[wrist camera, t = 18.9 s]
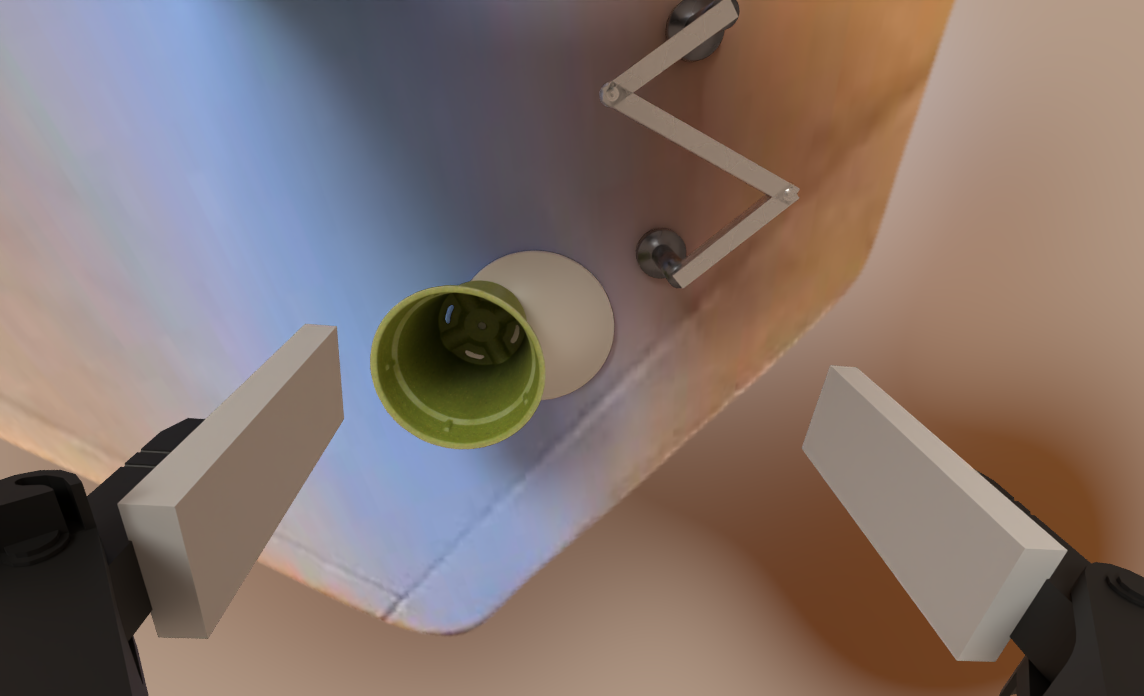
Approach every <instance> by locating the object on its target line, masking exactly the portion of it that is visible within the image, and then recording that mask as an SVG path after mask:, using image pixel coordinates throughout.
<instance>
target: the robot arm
mask: <svg viewBox="0 0 1144 696" xmlns="http://www.w3.org/2000/svg"><path fill="white" fill-rule="evenodd" d="M343 420H344V412H343V400H342V387H341V374H340V362H339V349H338V336H337V326H326V325H314V324H305V325H304V326H303V327H301V328H300V329H299V330H298V331H297V332H296V333H295V334H294V335H293V336H292V337H291V338H290V339H289V340H288V341H287V342H286V343H285V344H284V345H283V346H282V347H281V348H280V349H278V350H277V351H276V352H275V353H274V354H273V355H272V356H271V357H270V358H269V359H268V360H267V361H266V362H265V363H264V364H263V365H262V366H261V367H260V368H259V369H258V370H257V371H255V372H254V373H253V374H252V375H251V376H250V377H249V378H248V379H247V380H246V381H245V382H244V383H243V384H242V385H241V386H240V387H239V388H238V389H237V390H236V391H235V392H234V393H232V394H231V395H230V396H229V397H228V398H227V399H226V400H225V401H224V402H223V403H222V404H221V405H220V406H219V407H218V408H217V409H216V410H215V411H214V412H213V413H212V414H211V415H209V416H208V417H207V418H206V419H194V418H187V419H185V420H183V421H181V422H179V423H177V424H175V425H173V426H171V427H169V428H167V429H165V430H163V431H161V432H160V433H159V434H158V435H156V436H155V437H154V438H153V439H152V440H151V441H150V442H149V443H147V444H146V445H145V446H144V447H143V448H142V449H141V452H140V453H139V452H137V453H136V454H135V455H134V456H133V457H131V458H130V459H129V460H128V461H127V462H126V463H125V466H124V467H120V468H119V469H118V470H117V471H115V472H114V473H113V474H112V475H111V476H110V477H109V478H107V479H106V480H105V481H104V482H103V483H102V484H101V485H99V486H98V487H97V488H96V489H95V490H94V491H93V492H92V493H90V494H89V495H88V496H86V493H85V490H84V487H83V484H82V482H81V480H80V479H79V478H78V477H77V475H76V474H73V473H69V472H66V471H62V470H39V471H34V472H28V473H23V474H18V475H14V476H11V477H8V478H5V479H2V480H0V696H148V691H147V687H146V683H145V678H144V674H143V670H142V666H141V661H140V657H139V653H138V649H137V645H136V643H135V639H134V636H133V635H134V633H135V632H136V631H137V629H138V628H139V627H140V625H141V624H142V623H143V621H144V620H145V619H146V617H147V616H148V615H149V614H150V612H151V615H152V618H153V622H154V625H155V628H156V632H157V635H158V637H164V638H167V637H168V638H199V639H208V638H209V636H210V635H211V633H212V632H213V630H214V628H215V627H216V625H217V624H218V622H219V620H220V619H221V617H222V615H223V614H224V612H225V611H226V609H227V607H228V606H229V604H230V603H231V601H232V599H233V598H234V596H235V594H236V593H237V591H238V589H239V588H240V586H241V585H242V583H243V581H244V580H245V578H246V577H247V575H248V573H249V572H250V570H251V569H252V567H253V565H254V564H255V562H256V560H257V559H258V557H259V556H260V554H261V552H262V551H263V549H264V548H265V546H266V544H267V543H268V541H269V539H270V538H271V536H272V535H273V533H274V531H275V530H276V528H277V526H278V525H279V523H280V522H281V520H282V518H283V517H284V515H285V514H286V512H287V510H288V509H289V507H290V505H291V504H292V502H293V501H294V499H295V497H296V496H297V494H298V493H299V491H300V489H301V488H302V486H303V484H304V483H305V481H306V480H307V478H308V476H309V475H310V473H311V471H312V470H313V468H314V467H315V465H316V463H317V462H318V460H319V459H320V457H321V455H322V454H323V452H324V450H325V449H326V447H327V446H328V444H329V442H330V441H331V439H332V437H333V436H334V434H335V433H336V431H337V429H338V428H339V426H340V425H341V423H342V421H343ZM802 449H803V451H804V452H805V454H806V455H807V456H808V458H809V459H810V460H811V462H812V463H813V464H814V466H815V467H816V468H817V470H818V471H819V473H820V474H821V475H822V477H823V478H824V479H825V481H826V482H827V484H828V485H829V486H830V488H831V489H832V490H833V492H834V493H835V494H836V496H837V497H838V499H839V500H840V501H841V503H842V504H843V505H844V507H845V508H846V510H847V511H848V512H849V514H850V515H851V516H852V518H853V519H854V520H855V522H856V523H857V525H858V526H859V527H860V529H861V530H862V531H863V533H864V534H865V536H866V537H867V538H868V540H869V541H870V542H871V544H872V545H873V546H874V548H875V549H876V551H877V552H878V553H879V555H880V556H881V557H882V559H883V560H884V562H885V563H886V564H887V566H888V567H889V568H890V570H891V571H892V572H893V574H894V575H895V577H896V578H897V579H898V581H899V582H900V583H901V585H902V586H903V587H904V589H905V590H906V591H907V593H908V594H909V596H910V597H911V598H912V600H913V601H914V603H915V604H916V605H917V606H918V608H919V609H920V611H921V612H922V613H923V615H924V616H925V617H926V619H927V620H928V622H929V623H930V624H931V626H932V627H933V628H934V630H935V631H936V632H937V634H938V635H939V637H940V638H941V639H942V641H943V642H944V644H945V645H946V646H947V648H948V649H949V650H950V652H951V653H952V654H953V656H954V657H955V659H956V660H957V661H958V660H959V661H992V662H995V661H996V660H997V658H998V657H999V655H1000V654H1001V652H1002V651H1003V649H1004V647H1005V646H1006V644H1007V643H1008V641H1009V640H1010V638H1011V639H1012V640H1013V641H1014V642H1015V643H1016V645H1017V646H1018V647H1019V648H1020V649H1021V650H1022V651H1023V653H1024V654H1025V657H1024V658H1023V660H1022V661H1021V662H1020V664H1019V665H1018V667H1017V668H1016V670H1015V671H1014V673H1013V674H1012V676H1011V677H1010V679H1009V680H1008V681H1007V683H1006V684H1005V686H1004V687H1003V689H1002V690H1001V693H1000V695H999V696H1010V695H1012V694H1017V696H1144V577H1142V576H1140V575H1138V574H1135V573H1134V572H1132V571H1130V570H1127V569H1124V568H1121V567H1118V566H1115V565H1112V564H1106V563H1098V562H1095V563H1092V564H1091V563H1090V562H1089V561H1087V560H1086V559H1085V558H1084V557H1083V556H1082V555H1080V554H1079V553H1078V552H1077V551H1076V550H1075V549H1073V548H1072V547H1071V546H1070V545H1069V544H1068V543H1066V542H1065V541H1064V540H1063V539H1061V537H1059V536H1058V535H1057V534H1056V533H1055V532H1054V531H1052V530H1051V529H1050V528H1049V527H1048V526H1047V525H1045V524H1044V523H1043V522H1042V521H1040V520H1039V519H1038V518H1037V517H1036V516H1034V515H1031V514H1030V511H1029V510H1028V509H1026V508H1025V507H1024V506H1023V505H1022V504H1021V503H1020V502H1018V501H1014V497H1012V496H1011V495H1010V494H1009V493H1008V492H1007V491H1006V490H1004V489H1003V488H1002V487H1001V486H1000V485H998V484H997V483H996V482H995V481H994V480H992V479H990V478H989V477H987V476H985V475H984V474H982V473H980V472H978V471H977V470H975V469H973V468H972V467H971V466H970V465H969V464H967V463H966V462H965V461H964V460H963V459H962V458H961V457H959V456H958V455H957V454H956V453H955V452H954V451H952V450H951V449H950V448H949V447H948V446H947V445H946V444H944V443H943V442H942V441H941V440H940V439H939V438H937V437H936V436H935V435H934V434H933V433H932V432H930V431H929V430H928V429H927V428H926V427H925V426H924V425H922V424H921V423H920V422H919V421H918V420H917V419H915V418H914V417H913V416H912V415H911V414H910V413H909V412H907V411H906V410H905V409H904V408H903V407H902V406H900V405H899V404H898V403H897V402H896V401H895V400H893V399H892V398H891V397H890V396H889V395H888V394H887V393H886V392H884V391H883V390H882V389H881V388H880V387H879V386H878V385H876V384H875V383H874V382H873V381H872V380H871V379H869V378H868V377H867V376H866V375H865V374H864V373H863V372H861V371H860V370H859V369H858V368H857V367H846V366H833V365H830V367H829V370H828V373H827V376H826V379H825V382H824V385H823V388H822V391H821V394H820V396H819V399H818V402H817V405H816V408H815V411H814V414H813V417H812V420H811V423H810V426H809V429H808V432H807V434H806V437H805V440H804V443H803V446H802Z"/></svg>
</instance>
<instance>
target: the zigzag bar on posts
mask: <svg viewBox="0 0 1144 696" xmlns="http://www.w3.org/2000/svg"><path fill="white" fill-rule="evenodd" d="M738 16H739V5H738V2H737V1H736V0H683V1H682V2H681V3H680V4H678V5H677V6H676V7H675V8H674V10H673V11H672V12H671V14H670V16H669V18H668V21H667V25H666V40H667V41H666V42H664V43H663V44H662V45H660V46H659V47H658V48H656V49H655V50H653V51H652V52H651V53H649V54H648V55H647V56H645V57H644V58H642V59H641V60H640V61H638V62H637V63H636V64H634V65H633V66H632V67H630V68H629V69H627V70H626V71H625V72H623V73H622V74H621V75H619V76H618V77H617V78H615V79H614V80H612V81H609V82H607V83H605V84H604V85H603V86H602V87H601V89H600V93H599V97H600V100H601V101H600V102H602V104H603V105H604V106H606V107H609V108H613V109H614V110H616V111H618V112H620V113H622V114H623V115H625V116H627V117H629V118H630V119H632V120H634V121H636V122H638V123H639V124H641V125H643V126H645V127H646V128H648V129H650V130H652V131H654V132H655V133H657V134H659V135H661V136H663V137H664V138H666V139H668V140H670V141H671V142H673V143H675V144H677V145H679V146H680V147H682V148H684V149H686V150H687V151H689V152H691V153H693V154H695V155H696V156H698V157H700V158H702V159H704V160H705V161H707V162H709V163H711V164H712V165H714V166H716V167H718V168H720V169H721V170H723V171H725V172H727V173H728V174H730V175H732V176H734V177H736V178H737V179H739V180H741V181H743V182H745V183H746V184H748V185H750V186H752V187H753V188H755V189H757V190H759V191H761V192H762V193H764V194H766V195H764V196H763V197H762V198H761V199H759V200H758V201H757V202H756V203H754V204H753V205H752V206H750V207H749V208H748V209H747V210H745V211H744V212H743V213H742V214H740V215H739V216H738V217H737V218H735V219H734V220H733V221H732V222H730V223H729V224H728V225H726V226H725V227H724V228H723V229H721V230H720V231H719V232H718V233H716V234H715V235H714V236H713V237H711V238H710V239H709V240H708V241H706V242H705V243H704V244H703V245H701V246H700V247H699V248H697V249H696V250H695V251H694V252H692V253H691V254H690V255H689V256H687V257H686V247H685V244H684V242H683V240H682V239H681V238H680V236H678V235H677V234H676V233H675V232H674V231H672V230H670V229H666V228H657V229H653V230H651V231H649V232H647V233H646V234H645V235H644V236H643V237H642V238H641V239H640V241H639V243H638V245H637V249H636V257H637V261H638V263H639V265H640V267H641V268H642V270H643V271H644V272H645V273H646V274H648V275H649V276H651V277H654V278H666V279H667V280H668V282H669V283H670V284H671V285H672V286H673V287H675V288H685V287H686V286H687V285H689V284H690V283H691V282H692V281H694V280H695V279H696V278H698V277H699V276H700V275H701V274H703V273H704V272H705V271H707V270H708V269H709V268H710V267H712V266H713V265H714V264H716V263H717V262H718V261H719V260H721V259H722V258H723V257H725V256H726V255H727V254H728V253H730V252H731V251H732V250H734V249H735V248H736V247H737V246H739V245H740V244H741V243H743V242H744V241H745V240H746V239H748V238H749V237H750V236H752V235H753V234H754V233H755V232H757V231H758V230H759V229H761V228H762V227H763V226H764V225H766V224H767V223H768V222H770V221H771V220H772V219H773V218H775V217H776V216H777V215H779V214H780V213H781V212H782V211H784V210H785V209H786V208H788V207H789V206H790V205H791V204H793V203H794V202H795V201H797V200H798V199H799V197H798V191H799V190H800V189H799V188H798V187H796V186H795V185H794V184H793V183H791V182H787V181H785V180H784V179H782V178H780V177H778V176H777V175H775V174H773V173H772V172H770V171H768V170H766V169H765V168H763V167H761V166H759V165H758V164H756V163H754V162H752V161H751V160H749V159H747V158H745V157H744V156H742V155H740V154H738V153H737V152H735V151H733V150H731V149H730V148H728V147H726V146H724V145H723V144H721V143H719V142H717V141H716V140H714V139H712V138H710V137H709V136H707V135H705V134H703V133H702V132H700V131H698V130H697V129H695V128H693V127H691V126H690V125H688V124H686V123H684V122H683V121H681V120H679V119H677V118H676V117H674V116H672V115H670V114H669V113H667V112H665V111H663V110H662V109H660V108H658V107H656V106H655V105H653V104H651V103H649V102H648V101H646V100H644V99H642V98H641V97H639V96H637V95H635V94H634V93H633V92H635V91H636V90H638V89H639V88H640V87H642V86H643V85H645V84H646V83H647V82H649V81H650V80H651V79H653V78H654V77H656V76H657V75H658V74H660V73H661V72H663V71H664V70H665V69H667V68H668V67H669V66H671V65H672V64H674V63H675V62H676V61H678V60H679V59H681V60H684V61H698V60H701V59H703V58H706V57H708V56H709V55H711V54H712V53H713V52H714V51H715V50H716V49H717V47H718V46H719V44H720V43H721V41H722V38H723V35H724V30H726V29H728V28H730V27H731V26H733V25H734V24H735V22H736V21H737V19H738Z"/></svg>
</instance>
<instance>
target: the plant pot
mask: <svg viewBox="0 0 1144 696" xmlns="http://www.w3.org/2000/svg"><path fill="white" fill-rule="evenodd" d="M450 305H454V309H453V311H452V314H451V318H450V320H451V321H450V323H449V324H448V323H447V322H446V320H445V315H446V312H447V309H448V307H449V306H450ZM480 322H482V323H485V324H486V328H485V329H480V328H479V327H478V324H479V323H480ZM516 325H518V326H519V336H518V338H517V341H516V342H514V343H511V339H512V337H513V334H514V331H515V329H516ZM466 350H467V351H470V352H473V353H474V354H478V355H483V356H484V358H482V359H477V358H473V357H470V356H468V355H467V354H466V353H465V352H466ZM370 369H371V375H372V379H373V383H374V387H375V389H376V392H377V395H378V397H379V399H380V400H381V402H382V404H383V406H384V407H385V409H386V411H387V412H388V413H389V414H390V415H391V417H392V418H393V419H394V420H395V421H396V422H397V423H398V424H399V425H400V426H401V427H403V428H404V429H406V430H407V431H408V432H410V433H411V434H413V435H415V436H416V437H418V438H419V439H422V440H424V441H426V442H428V443H431V444H434V445H438V446H441V447H446V448H452V449H475V448H481V447H486V446H490V445H493V444H495V443H498V442H500V441H502V440H505V439H507V438H508V437H510V436H512V435H513V434H515V433H516V432H517V431H519V430H520V429H521V428H522V427H523V426H524V425H525V424H526V423H527V422H528V421H529V420H530V418H531V417H532V416H533V414H534V413H535V411H536V409H537V407H538V406H539V403H540V401H541V398H542V395H543V392H544V387H545V379H546V369H545V360H544V355H543V351H542V348H541V345H540V342H539V340H538V338H537V336H536V334H535V332H534V330H533V329H532V327H531V326H530V324H529V323H528V322H527V318H526V314H525V311H524V309H523V307H522V305H521V303H520V302H519V300H518V299H517V297H516V296H515V295H514V294H513V293H512V292H511V291H509V290H508V289H506V288H505V287H503V286H501V285H499V284H497V283H494V282H490V281H482V280H477V281H469V282H466V283H463V284H460V285H446V286H438V287H432V288H428V289H425V290H422V291H419V292H417V293H415V294H412V295H410V296H409V297H407V298H405V299H404V300H402V301H401V302H399V303H398V304H397V305H396V306H394V307H393V308H392V309H391V310H390V311H389V312H388V313H387V315H386V316H385V317H384V319H383V320H382V322H381V323H380V325H379V327H378V329H377V331H376V334H375V336H374V339H373V343H372V348H371V355H370Z"/></svg>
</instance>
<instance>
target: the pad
mask: <svg viewBox="0 0 1144 696" xmlns="http://www.w3.org/2000/svg"><path fill="white" fill-rule="evenodd" d="M477 280H482V281H490V282H494V283H497V284H499V285H501V286H503V287H505V288H506V289H508V290H509V291H511V292H512V293H513V294H514V295H515V296H516V297H517V299H518V300H519V302H520V303H521V305H522V307H523V309H524V311H525V314H526V318H527V322H528V323H529V324H530V326H531V327H532V329H533V330H534V332H535V334H536V336H537V338H538V340H539V342H540V345H541V348H542V351H543V355H544V360H545V369H546V379H545V387H544V392H543V395H542V398H541V400H547V399H553V398H557V397H561V396H564V395H566V394H569V393H571V392H573V391H575V390H577V389H579V388H580V387H581V386H583V385H584V384H586V383H587V382H588V381H589V380H590V379H592V378H593V377H594V376H595V374H596V373H597V372H598V371H599V370H600V368H601V367H602V365H603V364H604V362H605V361H606V359H607V357H608V355H609V352H610V349H611V346H612V342H613V337H614V317H613V312H612V308H611V305H610V302H609V299H608V297H607V294H606V293H605V291H604V289H603V287H602V286H601V284H600V283H599V282H598V280H597V279H596V278H595V277H594V276H593V275H592V274H591V273H590V272H589V271H588V270H587V269H586V268H585V267H583V266H582V265H581V264H579V263H577V262H576V261H574V260H572V259H570V258H568V257H565V256H563V255H560V254H557V253H553V252H547V251H540V250H529V251H520V252H516V253H512V254H508V255H505V256H503V257H501V258H498V259H496V260H495V261H493V262H491V263H489V264H488V265H487V266H485V267H484V268H483V269H481V270H480V271H479V272H478V273H477V274H476V275H475V276H474V277H473V279H472V280H471V281H477ZM478 327H479V328H480V329H485V328H486V324H485V323H482V322H480V323H479V324H478ZM518 336H519V326H518V325H516V329H515V331H514V334H513V337H512V339H511V343H514V342H516V341H517V338H518ZM465 353H466V354H467V355H468V356H470V357H473V358H477V359H482V358H484V356H483V355H478V354H474V353H473V352H470V351H467V350H466V352H465Z"/></svg>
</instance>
